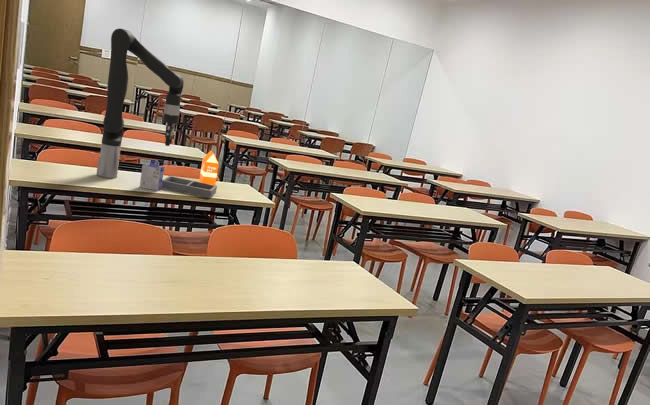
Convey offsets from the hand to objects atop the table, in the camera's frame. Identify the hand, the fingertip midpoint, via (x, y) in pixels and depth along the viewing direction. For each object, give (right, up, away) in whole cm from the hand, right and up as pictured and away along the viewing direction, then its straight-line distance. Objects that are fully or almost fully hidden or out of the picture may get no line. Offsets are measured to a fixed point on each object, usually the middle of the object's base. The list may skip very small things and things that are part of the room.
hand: (168, 144), depth 255 cm
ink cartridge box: (-9, -23, -1) cm, 25 cm away
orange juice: (+13, -20, +31) cm, 39 cm away
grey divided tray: (+8, -24, +11) cm, 27 cm away
